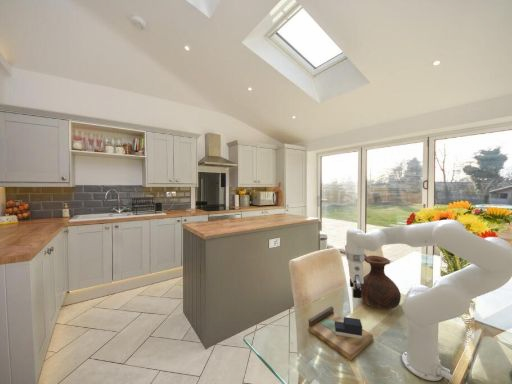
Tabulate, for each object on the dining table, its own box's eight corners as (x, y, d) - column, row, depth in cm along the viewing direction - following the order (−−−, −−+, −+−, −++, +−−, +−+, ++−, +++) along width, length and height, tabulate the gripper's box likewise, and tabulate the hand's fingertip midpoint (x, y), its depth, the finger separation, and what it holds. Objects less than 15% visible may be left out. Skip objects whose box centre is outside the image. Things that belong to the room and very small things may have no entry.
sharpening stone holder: (372, 340, 97) (372, 328, 97) (351, 360, 87) (350, 347, 87) (331, 315, 115) (331, 306, 115) (308, 330, 105) (308, 319, 105)
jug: (375, 290, 139) (375, 245, 137) (409, 309, 119) (410, 256, 117) (349, 298, 131) (349, 250, 129) (381, 319, 111) (381, 263, 109)
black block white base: (359, 331, 100) (359, 319, 99) (361, 339, 95) (362, 326, 94) (334, 327, 102) (334, 315, 102) (335, 334, 98) (335, 322, 97)
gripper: (368, 264, 89) (368, 303, 90) (360, 250, 106) (360, 283, 107) (349, 262, 91) (349, 301, 93) (344, 249, 108) (344, 282, 109)
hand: (355, 291), depth 100 cm, fingers open, 9 cm apart
